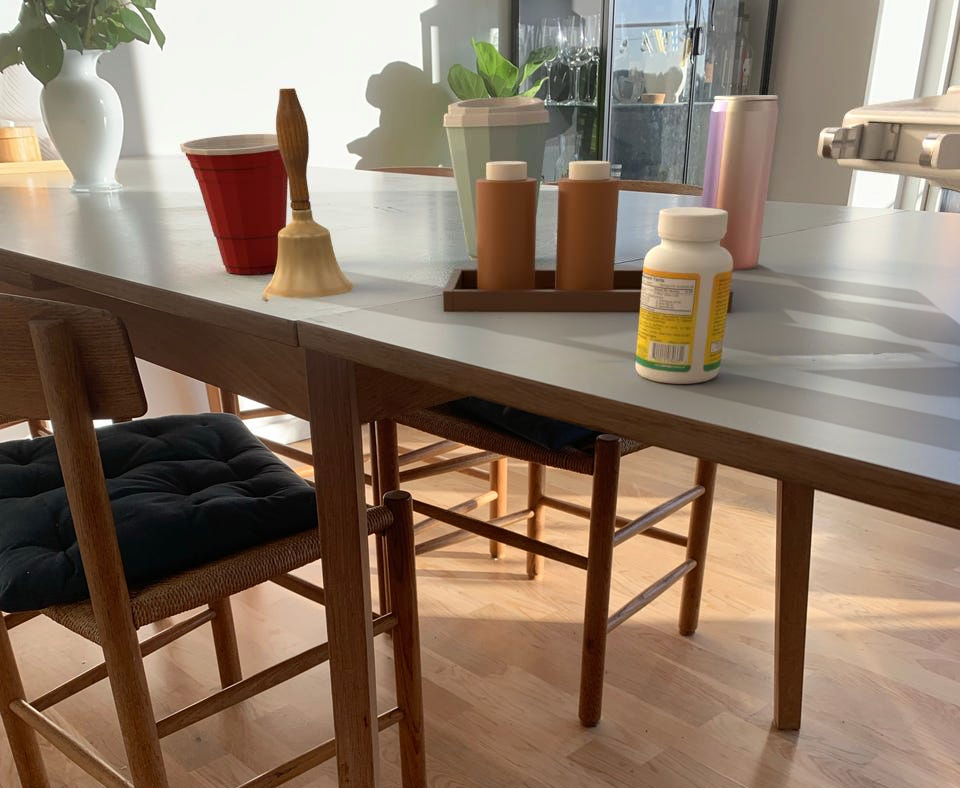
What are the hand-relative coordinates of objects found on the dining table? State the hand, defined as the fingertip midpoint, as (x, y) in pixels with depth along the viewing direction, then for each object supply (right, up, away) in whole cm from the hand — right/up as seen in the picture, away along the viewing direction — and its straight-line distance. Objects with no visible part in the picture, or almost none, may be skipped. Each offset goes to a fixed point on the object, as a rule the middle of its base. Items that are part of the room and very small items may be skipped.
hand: (873, 147), depth 57 cm
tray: (-15, -2, +22) cm, 27 cm away
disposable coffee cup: (-22, +10, +42) cm, 49 cm away
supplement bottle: (-11, -13, +3) cm, 18 cm away
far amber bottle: (-22, -1, +22) cm, 31 cm away
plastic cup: (-47, +7, +38) cm, 61 cm away
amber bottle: (-15, -1, +22) cm, 27 cm away
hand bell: (-39, +1, +27) cm, 47 cm away
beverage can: (0, +6, +36) cm, 36 cm away
